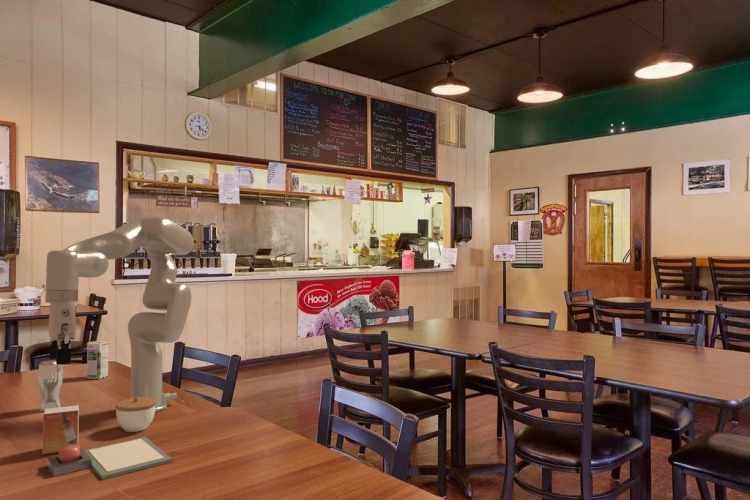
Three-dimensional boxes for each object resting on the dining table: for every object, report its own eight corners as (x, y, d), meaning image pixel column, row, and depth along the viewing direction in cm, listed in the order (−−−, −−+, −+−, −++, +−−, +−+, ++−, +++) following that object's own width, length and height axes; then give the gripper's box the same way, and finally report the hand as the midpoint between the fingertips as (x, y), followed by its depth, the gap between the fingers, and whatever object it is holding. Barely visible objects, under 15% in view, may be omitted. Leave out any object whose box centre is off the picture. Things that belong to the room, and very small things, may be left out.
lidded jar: (147, 420, 164) (147, 389, 164) (161, 429, 156) (161, 397, 156) (110, 428, 157) (110, 396, 157) (123, 437, 149) (123, 404, 149)
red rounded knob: (77, 454, 132) (77, 443, 132) (81, 460, 129) (81, 448, 129) (56, 459, 129) (57, 447, 129) (60, 464, 126) (61, 452, 126)
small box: (42, 455, 136) (42, 414, 136) (44, 448, 141) (44, 408, 141) (78, 450, 140) (78, 410, 140) (78, 443, 145) (79, 404, 145)
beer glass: (33, 410, 172) (33, 364, 172) (53, 404, 179) (53, 360, 179) (48, 413, 170) (48, 366, 170) (67, 407, 176) (68, 362, 176)
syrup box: (86, 379, 214) (86, 342, 214) (96, 375, 220) (96, 340, 220) (99, 379, 213) (99, 343, 213) (108, 376, 219) (109, 340, 219)
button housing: (83, 457, 135) (83, 449, 135) (91, 467, 129) (91, 459, 129) (46, 465, 129) (46, 457, 129) (53, 476, 123) (53, 467, 123)
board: (144, 439, 148) (145, 436, 148) (172, 461, 133) (172, 457, 133) (80, 453, 137) (80, 450, 137) (102, 479, 122) (102, 475, 122)
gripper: (85, 298, 138) (83, 364, 138) (70, 294, 151) (68, 355, 151) (51, 299, 133) (49, 368, 133) (40, 295, 146) (37, 358, 146)
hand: (59, 361), depth 142 cm, fingers open, 9 cm apart
